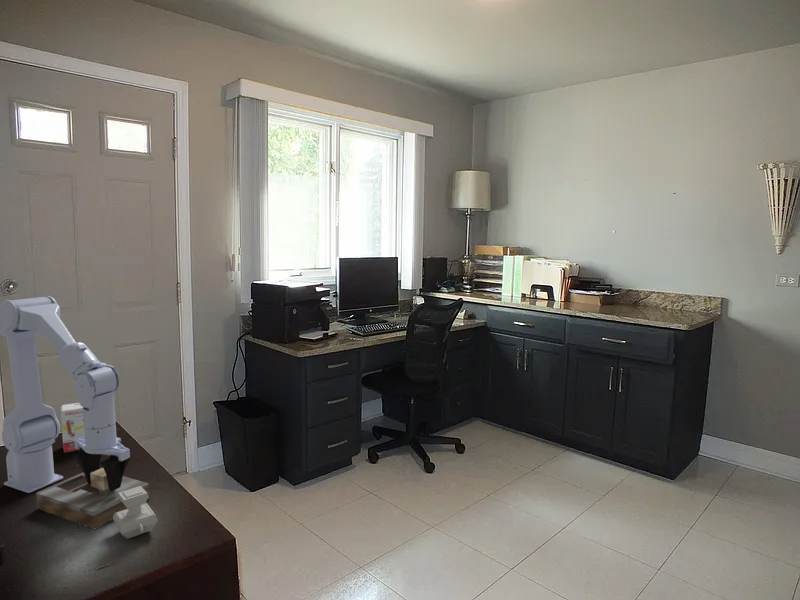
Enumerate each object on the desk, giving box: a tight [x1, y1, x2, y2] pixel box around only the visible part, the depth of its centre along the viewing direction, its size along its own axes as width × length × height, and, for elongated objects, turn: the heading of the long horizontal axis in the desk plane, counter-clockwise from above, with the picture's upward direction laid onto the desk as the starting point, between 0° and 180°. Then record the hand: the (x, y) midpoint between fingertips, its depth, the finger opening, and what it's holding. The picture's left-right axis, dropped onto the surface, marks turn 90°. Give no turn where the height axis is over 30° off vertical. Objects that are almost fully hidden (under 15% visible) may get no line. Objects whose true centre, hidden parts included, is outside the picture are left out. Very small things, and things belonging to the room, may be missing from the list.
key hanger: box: [90, 467, 113, 496], centre depth 111 cm, size 5×5×7 cm
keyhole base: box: [35, 471, 151, 530], centre depth 112 cm, size 18×13×4 cm
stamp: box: [112, 486, 159, 540], centre depth 102 cm, size 9×7×8 cm
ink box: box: [60, 402, 85, 453], centre depth 140 cm, size 9×5×12 cm, turn 124°
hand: (104, 485), depth 110 cm, fingers open, 6 cm apart
